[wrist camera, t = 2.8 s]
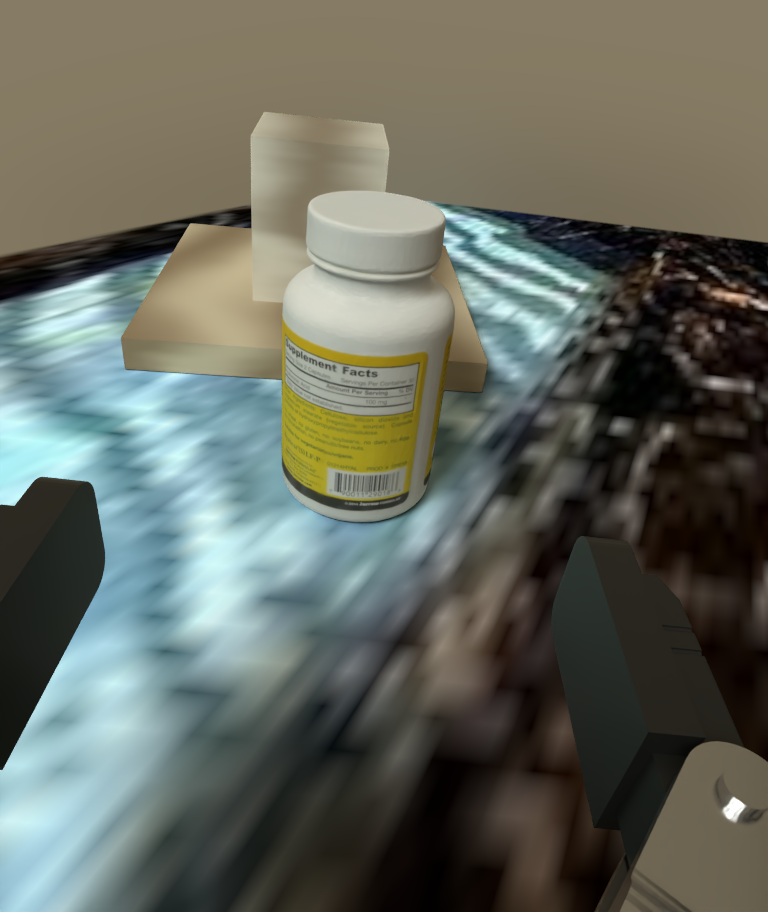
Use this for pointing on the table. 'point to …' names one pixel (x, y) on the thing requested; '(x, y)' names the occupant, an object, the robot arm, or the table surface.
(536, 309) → the table surface
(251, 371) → the pedestal
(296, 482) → the supplement bottle
